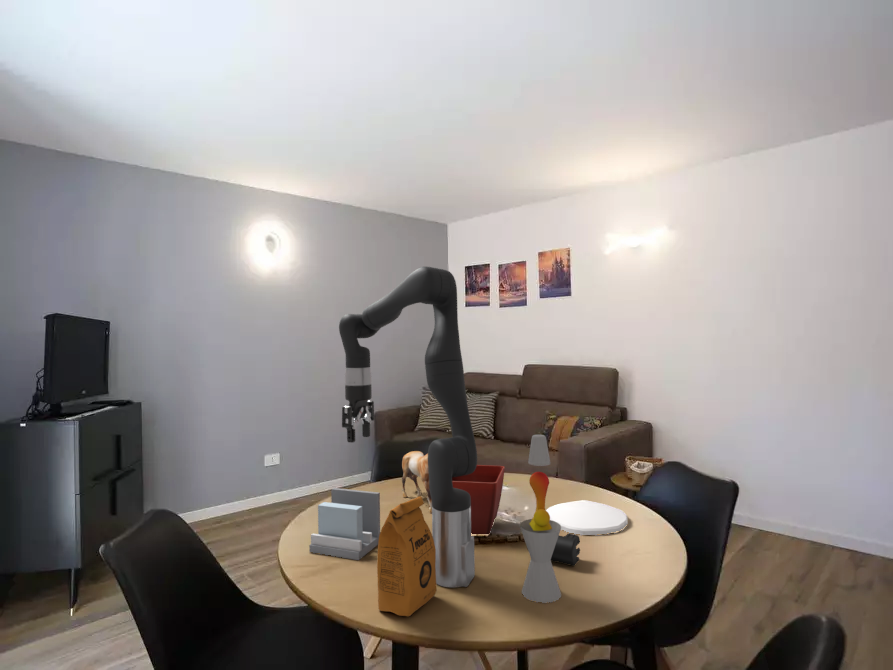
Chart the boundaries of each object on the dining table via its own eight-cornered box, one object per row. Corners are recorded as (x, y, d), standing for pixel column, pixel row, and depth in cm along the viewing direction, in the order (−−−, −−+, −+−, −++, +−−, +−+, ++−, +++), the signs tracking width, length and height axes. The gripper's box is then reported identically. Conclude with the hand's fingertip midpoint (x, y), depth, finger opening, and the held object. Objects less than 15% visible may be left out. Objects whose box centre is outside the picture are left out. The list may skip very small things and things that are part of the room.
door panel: (362, 543, 140) (362, 506, 140) (357, 547, 137) (356, 509, 137) (324, 538, 144) (324, 501, 144) (318, 542, 141) (317, 505, 141)
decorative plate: (589, 528, 143) (528, 505, 164) (589, 544, 143) (528, 518, 164) (646, 511, 157) (584, 491, 178) (646, 525, 157) (584, 503, 178)
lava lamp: (517, 584, 120) (514, 432, 120) (555, 582, 120) (553, 431, 120) (525, 604, 110) (523, 439, 111) (567, 602, 111) (564, 438, 111)
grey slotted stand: (380, 542, 145) (379, 492, 145) (358, 560, 134) (357, 505, 134) (334, 536, 150) (333, 487, 150) (309, 552, 139) (308, 500, 139)
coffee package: (443, 598, 114) (442, 497, 114) (408, 624, 103) (406, 514, 104) (408, 586, 119) (407, 490, 119) (371, 610, 109) (369, 505, 109)
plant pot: (430, 538, 148) (429, 479, 148) (446, 515, 166) (445, 463, 166) (497, 543, 143) (496, 482, 143) (506, 520, 162) (505, 465, 162)
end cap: (534, 562, 132) (533, 535, 132) (544, 552, 138) (544, 526, 138) (572, 571, 126) (572, 543, 126) (581, 560, 132) (581, 533, 132)
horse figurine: (452, 514, 168) (451, 450, 168) (430, 518, 164) (429, 453, 164) (412, 489, 195) (411, 435, 195) (393, 493, 192) (392, 437, 192)
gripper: (357, 385, 142) (357, 445, 142) (381, 381, 155) (382, 435, 155) (333, 385, 144) (334, 443, 144) (359, 381, 158) (360, 434, 158)
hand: (359, 439), depth 150 cm, fingers open, 8 cm apart
